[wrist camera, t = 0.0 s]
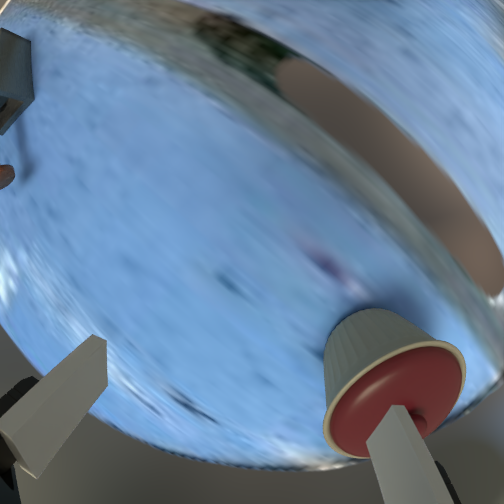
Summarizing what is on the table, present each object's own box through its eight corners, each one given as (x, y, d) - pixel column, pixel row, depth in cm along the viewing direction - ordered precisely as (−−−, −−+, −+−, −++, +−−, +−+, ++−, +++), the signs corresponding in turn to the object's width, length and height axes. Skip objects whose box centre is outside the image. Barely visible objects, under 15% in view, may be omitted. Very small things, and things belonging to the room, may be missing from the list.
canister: (407, 272, 37) (498, 333, 16) (414, 365, 40) (469, 444, 19) (294, 309, 39) (314, 413, 18) (318, 398, 42) (337, 499, 21)
